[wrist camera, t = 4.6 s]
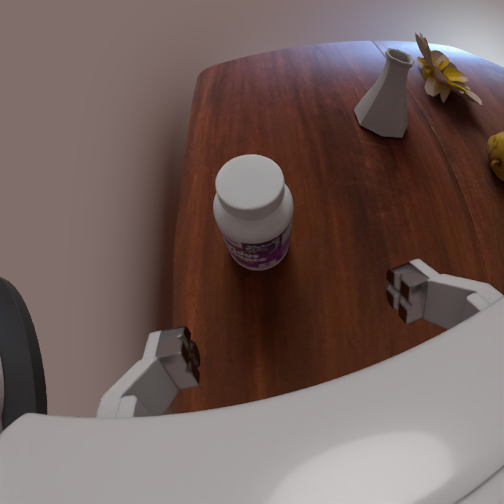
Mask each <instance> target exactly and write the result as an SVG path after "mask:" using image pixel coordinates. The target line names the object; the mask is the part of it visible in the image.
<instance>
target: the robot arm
mask: <svg viewBox="0 0 504 504" xmlns="http://www.w3.org/2000/svg"><path fill="white" fill-rule="evenodd" d="M386 279H387V280H388V281H389V284H388V286H387V288H386V296H387V300H388V302H389V304H390V306H391V307H392V308H393V309H394V310H398V311H399V316H400V318H401V319H402V320H403V321H404V322H405V323H406V324H409V323H412V322H414V321H417V320H419V319H421V318H423V319H425V320H427V321H430V322H432V323H434V324H436V325H439V326H441V327H443V328H445V329H448V330H447V331H445V332H443V333H442V334H440V335H438V336H436V337H434V338H432V339H430V340H428V341H426V342H424V343H422V344H420V345H418V346H416V347H414V348H412V349H410V350H407V351H405V352H403V353H401V354H398V355H396V356H394V357H392V358H389V359H387V360H384V361H382V362H380V363H377V364H375V365H372V366H370V367H367V368H364V369H362V370H359V371H356V372H354V373H351V374H348V375H345V376H343V377H340V378H337V379H334V380H331V381H328V382H325V383H322V384H318V385H315V386H312V387H309V388H305V389H302V390H298V391H295V392H291V393H287V394H283V395H280V396H276V397H271V398H267V399H263V400H259V401H254V402H249V403H244V404H239V405H234V406H229V407H223V408H217V409H211V410H204V411H197V412H190V413H181V414H172V415H163V414H164V413H165V411H166V410H167V408H168V406H169V405H170V404H171V402H172V400H173V399H174V397H175V396H176V394H177V393H178V391H179V389H184V388H190V387H195V386H199V378H200V373H199V371H198V369H197V368H198V367H199V365H200V355H199V351H198V348H197V345H196V343H195V342H194V341H192V340H190V339H191V333H190V331H189V329H188V328H187V327H186V326H183V327H178V328H173V329H167V330H162V331H157V332H152V333H150V334H149V337H148V340H147V344H146V347H145V351H144V355H143V358H142V360H139V361H138V362H137V363H136V364H135V365H134V366H133V367H132V368H131V369H130V370H129V371H128V372H126V373H125V374H124V375H123V376H122V377H121V378H120V379H119V380H118V381H117V382H116V383H115V384H114V385H113V386H112V387H111V388H110V389H109V390H108V391H107V392H106V393H105V394H104V395H103V396H102V397H101V400H100V404H99V407H98V410H97V413H96V417H95V418H88V417H85V418H84V417H68V416H67V417H66V416H54V415H45V414H37V413H26V414H24V415H22V416H21V417H19V418H18V419H16V420H15V421H14V422H13V423H12V424H11V425H9V426H8V427H7V428H6V429H5V430H4V431H3V426H2V412H3V407H4V376H3V368H2V362H1V357H0V504H504V296H503V295H502V294H501V293H500V292H498V291H497V290H496V289H494V288H493V287H492V286H491V285H489V284H487V283H483V282H478V281H474V280H469V279H465V278H460V277H455V276H451V275H446V274H441V275H440V274H438V273H437V272H436V271H434V270H433V269H432V268H431V267H429V266H428V265H427V264H425V263H424V262H423V261H421V260H420V259H415V260H412V261H410V262H407V263H405V264H403V265H400V266H397V267H394V268H392V269H389V270H388V271H387V276H386Z"/></svg>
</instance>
